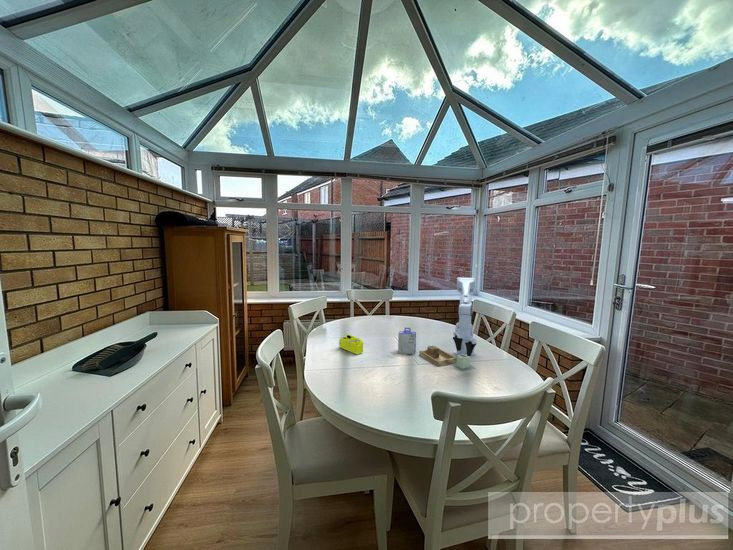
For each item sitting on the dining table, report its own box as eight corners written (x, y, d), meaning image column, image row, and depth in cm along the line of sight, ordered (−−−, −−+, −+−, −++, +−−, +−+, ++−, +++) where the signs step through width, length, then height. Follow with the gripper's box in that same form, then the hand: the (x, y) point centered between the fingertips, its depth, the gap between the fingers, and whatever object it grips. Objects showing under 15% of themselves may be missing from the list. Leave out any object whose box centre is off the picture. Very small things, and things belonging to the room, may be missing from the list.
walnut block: (433, 353, 171) (434, 345, 170) (439, 357, 166) (439, 348, 165) (427, 355, 169) (427, 346, 168) (432, 358, 164) (432, 349, 164)
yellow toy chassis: (363, 353, 173) (363, 339, 172) (356, 355, 169) (356, 341, 168) (346, 346, 185) (346, 333, 184) (339, 348, 181) (338, 335, 180)
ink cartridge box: (415, 351, 175) (416, 327, 174) (415, 355, 170) (415, 330, 169) (399, 350, 178) (399, 326, 176) (397, 353, 173) (398, 329, 171)
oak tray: (437, 352, 174) (437, 347, 174) (456, 363, 159) (457, 358, 158) (419, 356, 169) (419, 350, 169) (437, 367, 154) (437, 361, 153)
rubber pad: (464, 362, 160) (464, 361, 160) (476, 369, 152) (476, 368, 151) (450, 365, 156) (450, 364, 156) (462, 372, 148) (462, 371, 148)
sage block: (456, 365, 155) (456, 355, 154) (463, 364, 157) (463, 353, 156) (462, 368, 151) (463, 358, 150) (469, 367, 153) (469, 356, 152)
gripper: (449, 324, 156) (448, 349, 158) (468, 332, 143) (467, 359, 145) (459, 322, 159) (458, 347, 161) (480, 330, 146) (478, 357, 148)
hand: (463, 353), depth 153 cm, fingers open, 7 cm apart
